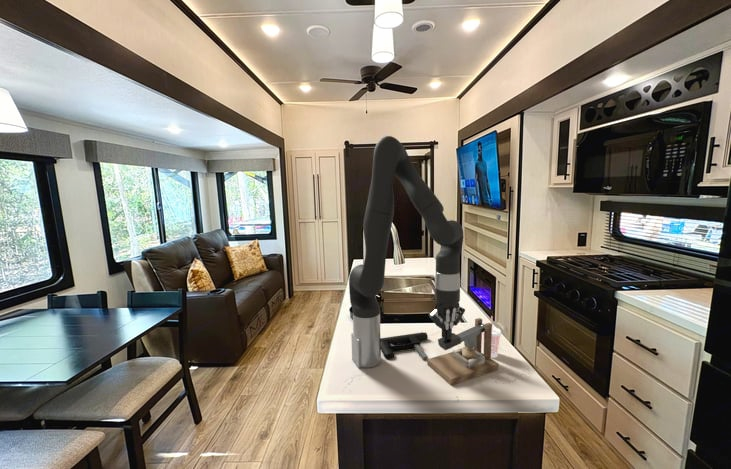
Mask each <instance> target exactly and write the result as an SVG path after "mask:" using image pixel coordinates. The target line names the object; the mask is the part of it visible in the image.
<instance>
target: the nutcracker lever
mask: <svg viewBox="0 0 731 469" xmlns="http://www.w3.org/2000/svg"><path fill="white" fill-rule="evenodd" d="M484 326H485V323H483V322H482V323H480V324H479V325H477V326H475V325H474V326H473V327H472V326H471V328H468V329H466V330H464V331H462V332H459V333H457V334H456V333H454V332H452V336H451V339H450V340H447V341H446V340H445V339H443V337H442V336H441V337H440V338H438V339H437V342H438V343H437V344H438V346H439V347H440V348H441V349H442V350H444V351H448V350H449V349H452V348H454V347H457V346H458V345H460V344H462V343H463V344H464V345H463V346H464V347H467V348H468V349H472V348H474V347H476V346H477V343H476V335H478V334H480V333H482V334H483V332H484Z"/></svg>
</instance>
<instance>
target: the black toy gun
mask: <svg viewBox="0 0 731 469" xmlns="http://www.w3.org/2000/svg"><path fill="white" fill-rule="evenodd" d="M422 340H423V341H425V340H428V334H427V332H426V331H425V332H423V331H422V332H416V333H410V334H409V333H408V334H401V335H395V336H388V337H386V336H385V337H382V338H381V337H380V342H381V352H382V353H381V354H382V355H383V356H384V358H385V360H392V359H394V358H395V356H396V355H395V352H401V351H403V352H404V351H409V349H410V350H414V351H415V350H416V351H415V352H416V353H417V355H418V354H419V355H418V356H419V358H421V360H422V361H427V359H429V358H428V355H427V354H426V352H425V351H424V349H423V348H422V347H421V345H420V344H421V343H420V342H421V341H422ZM423 341H422V342H423ZM402 343H403V344H402ZM408 343H409V344H408Z"/></svg>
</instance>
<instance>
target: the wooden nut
mask: <svg viewBox="0 0 731 469" xmlns="http://www.w3.org/2000/svg"><path fill="white" fill-rule="evenodd" d="M462 356H463V357H464V358H466V359H467V360H470V359H473V358H475V349H474V348H472V349H468V348H467V347H465V346H463V347H462Z"/></svg>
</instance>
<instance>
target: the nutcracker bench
mask: <svg viewBox="0 0 731 469" xmlns="http://www.w3.org/2000/svg"><path fill="white" fill-rule="evenodd" d="M480 323H482V324H483V319H482V318H480V317H479V318H475V319H474V327H475V326H477V325H479V324H480ZM484 325H485V326H484V352H482V346H483V342H482V341H483V333H480V334H478V335H476V343H477V346H476V347H474V349H475V358H473V359H470V360H467V359H466V358H464V357H463V356H462V348H463V347H462V348H457V349H454V350H452V351H451V352H448V353H445V354H440V355H438V356H434V357H430V358H427V360H426V361H427V364H426V365H427V366H428V367H429V368H430V369H431V370H432V371H434V372H435V373H436V374H438V375H439V377H440V378H442V379H443V380H444V381H445V382H446V383H448V384H449V385H450V386H454V385H456V384H459V383H460V384H461V383H463V382H466V381H469V380H471V379H474V378H477V377H480V376H485V375H486V374H490V373H493V372H494V371H495V372H496V371H498V370H499V366H500V364H499V362H497V361H495V360H493V358H491V339H492V327H493V323H492V324H491V322H487V323H484Z"/></svg>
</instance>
